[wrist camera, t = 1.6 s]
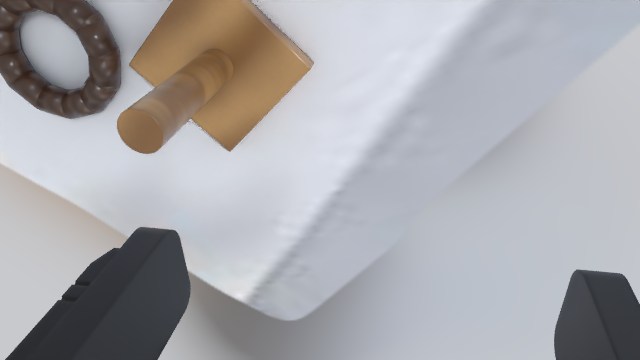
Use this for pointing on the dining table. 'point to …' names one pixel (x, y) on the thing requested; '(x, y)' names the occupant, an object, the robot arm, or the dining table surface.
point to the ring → (103, 53)
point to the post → (210, 73)
